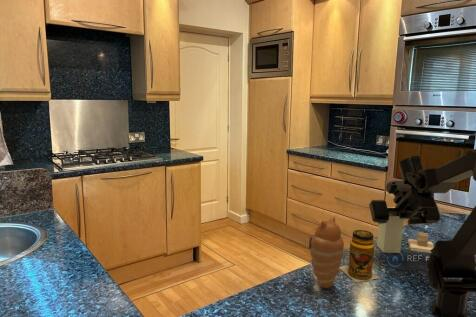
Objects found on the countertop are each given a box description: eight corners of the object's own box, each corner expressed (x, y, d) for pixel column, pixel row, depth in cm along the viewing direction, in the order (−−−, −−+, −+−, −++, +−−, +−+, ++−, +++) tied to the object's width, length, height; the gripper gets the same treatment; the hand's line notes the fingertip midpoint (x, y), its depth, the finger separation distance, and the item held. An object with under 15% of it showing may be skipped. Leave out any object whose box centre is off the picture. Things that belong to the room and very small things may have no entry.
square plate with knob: (435, 253, 109) (437, 240, 109) (411, 250, 112) (412, 236, 111) (431, 244, 116) (433, 231, 115) (407, 241, 118) (409, 228, 117)
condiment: (356, 282, 92) (359, 239, 90) (337, 267, 100) (340, 227, 98) (379, 279, 94) (383, 236, 92) (359, 264, 102) (363, 224, 100)
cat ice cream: (321, 275, 95) (325, 211, 92) (347, 287, 90) (353, 219, 86) (301, 286, 90) (304, 218, 86) (327, 300, 84) (332, 228, 81)
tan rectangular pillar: (400, 252, 110) (404, 212, 107) (383, 252, 110) (387, 212, 107) (392, 245, 115) (396, 207, 112) (376, 245, 115) (380, 206, 112)
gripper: (440, 174, 100) (416, 200, 113) (374, 173, 100) (358, 199, 113) (453, 210, 94) (426, 233, 107) (382, 209, 94) (364, 232, 107)
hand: (393, 223), depth 109 cm, fingers open, 9 cm apart
